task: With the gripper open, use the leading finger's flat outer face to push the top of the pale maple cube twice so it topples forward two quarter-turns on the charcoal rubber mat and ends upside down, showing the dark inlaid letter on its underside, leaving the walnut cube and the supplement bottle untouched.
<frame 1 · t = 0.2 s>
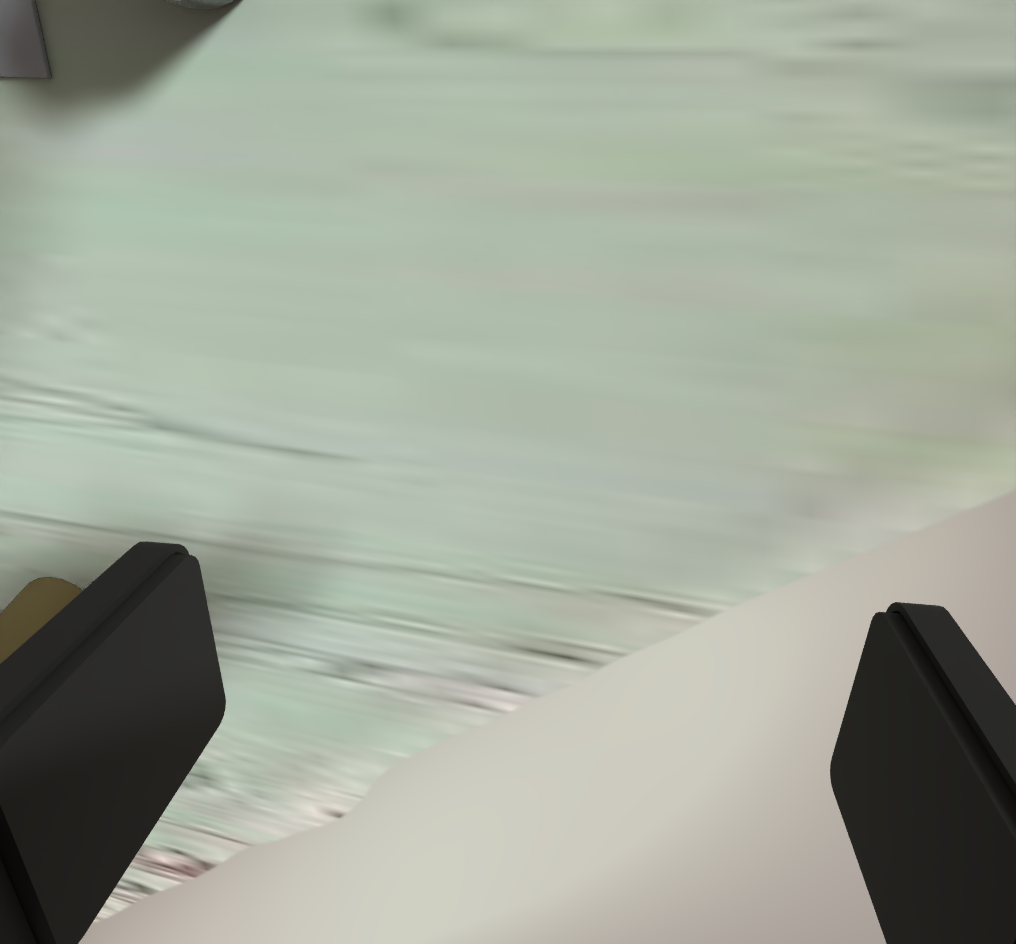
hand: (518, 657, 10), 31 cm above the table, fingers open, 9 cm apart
cork: (63, 610, 53), on the table
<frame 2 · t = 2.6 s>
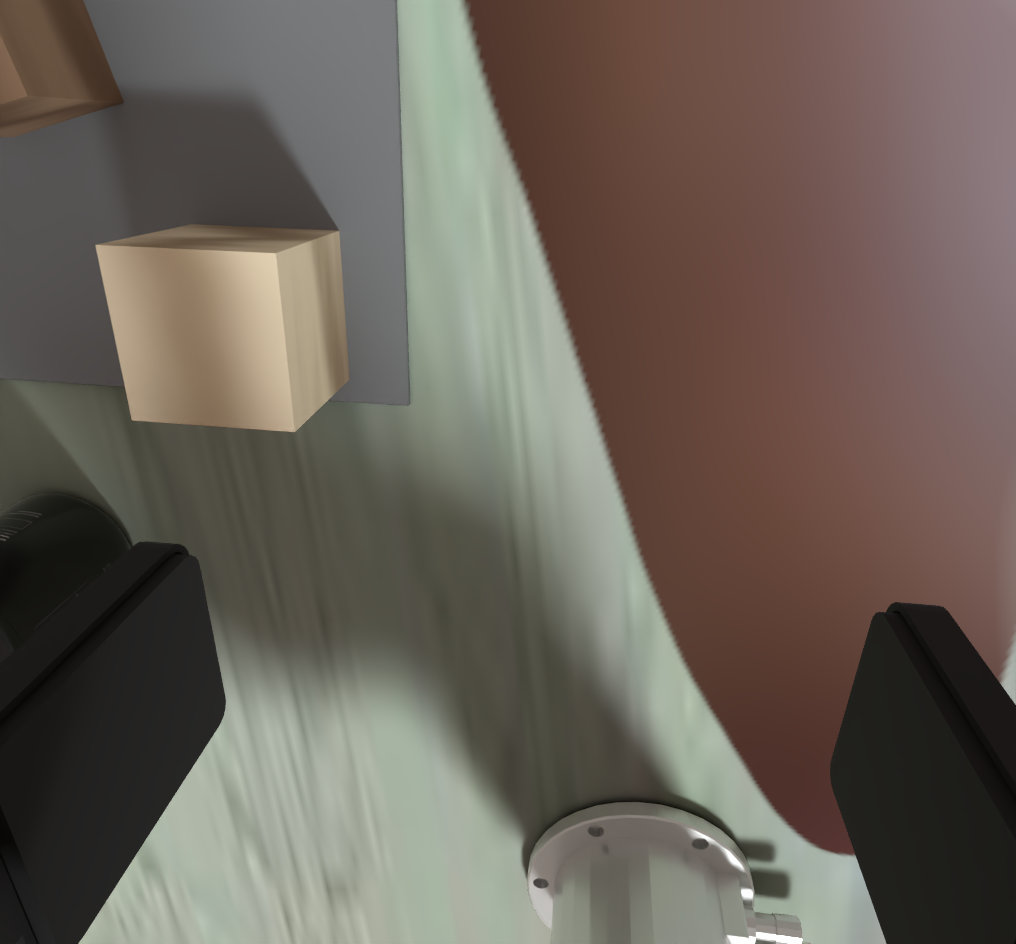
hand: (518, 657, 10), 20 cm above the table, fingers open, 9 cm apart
walnut block: (35, 46, 26), resting on mat
supplement bottle: (79, 547, 37), on the table
mat: (107, 193, 29), on the table
maple block: (273, 304, 29), resting on mat
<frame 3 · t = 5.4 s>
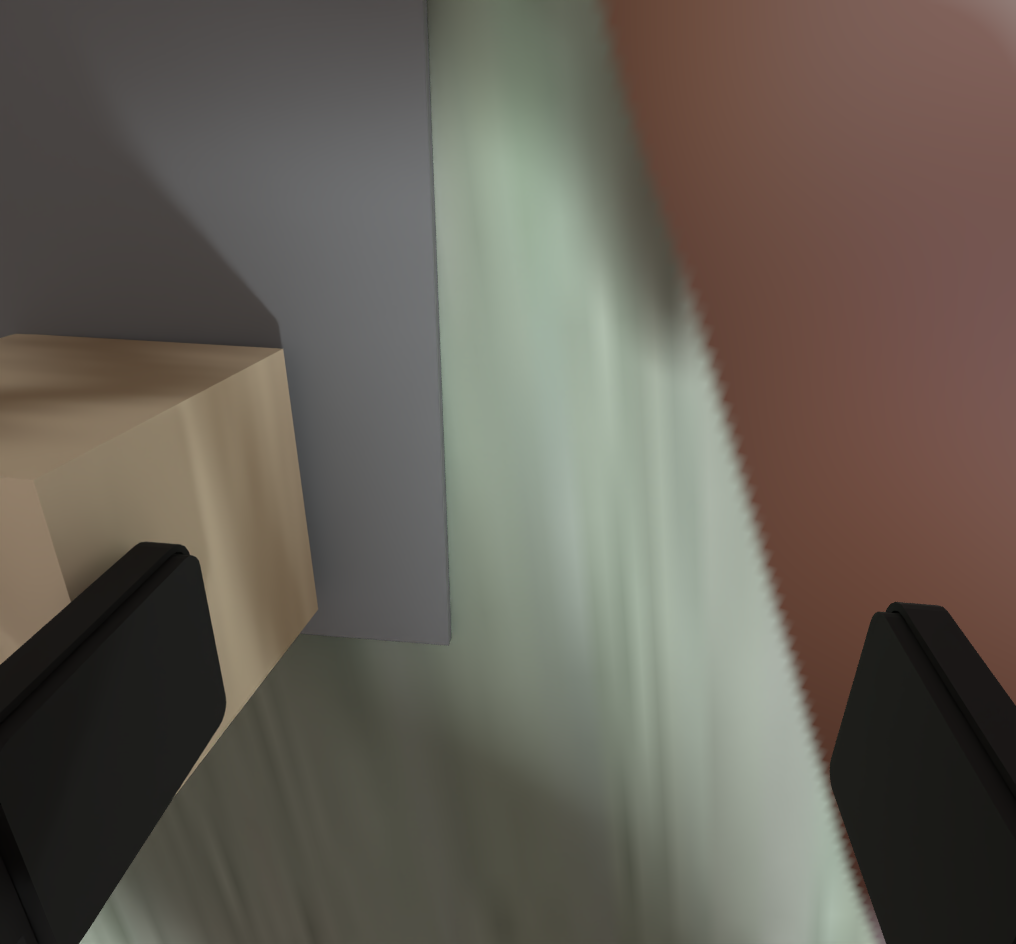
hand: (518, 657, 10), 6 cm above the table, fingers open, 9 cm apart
maple block: (174, 477, 16), point 1 cm above the table, tilted 5°, touching gripper, mat
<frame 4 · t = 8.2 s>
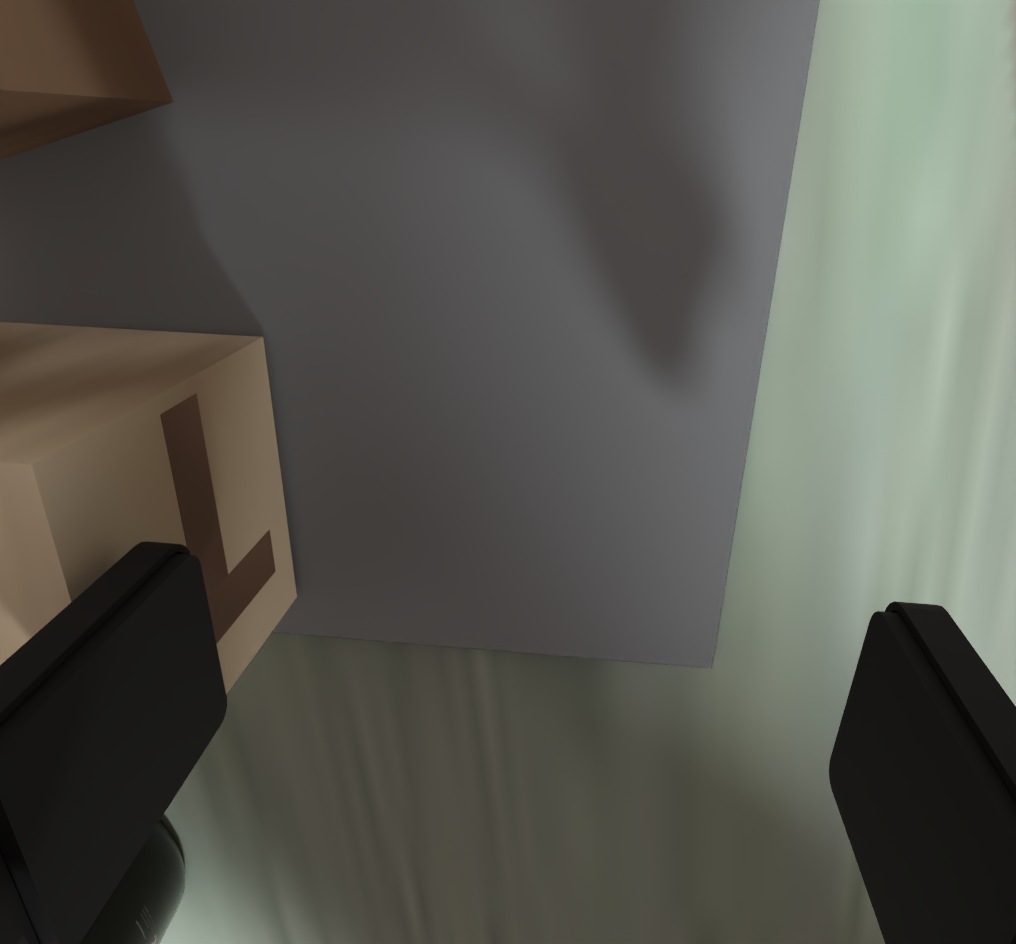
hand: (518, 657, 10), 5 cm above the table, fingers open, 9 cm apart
supplement bottle: (92, 839, 22), on the table
mat: (138, 286, 14), on the table
maple block: (206, 551, 12), point 3 cm above the table, tilted 92°, touching gripper, mat
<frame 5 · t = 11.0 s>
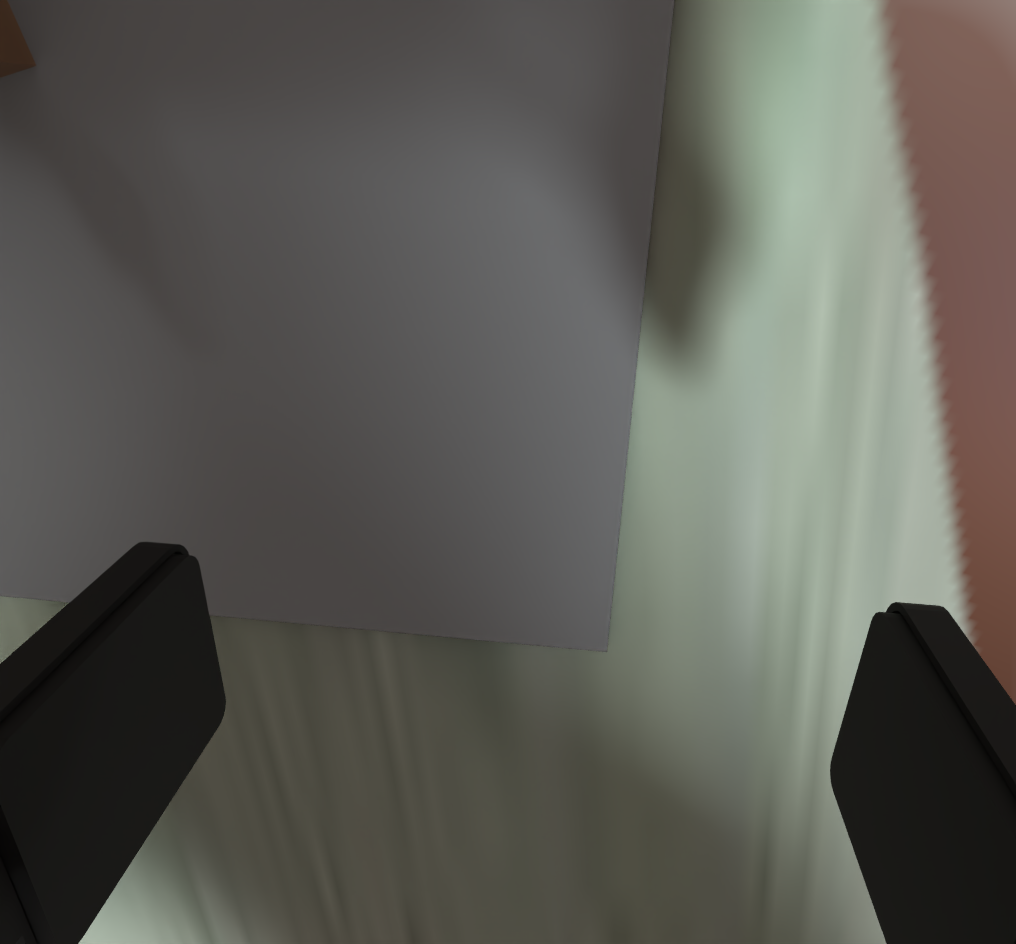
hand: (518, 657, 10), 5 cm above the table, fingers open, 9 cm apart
mat: (16, 257, 14), on the table
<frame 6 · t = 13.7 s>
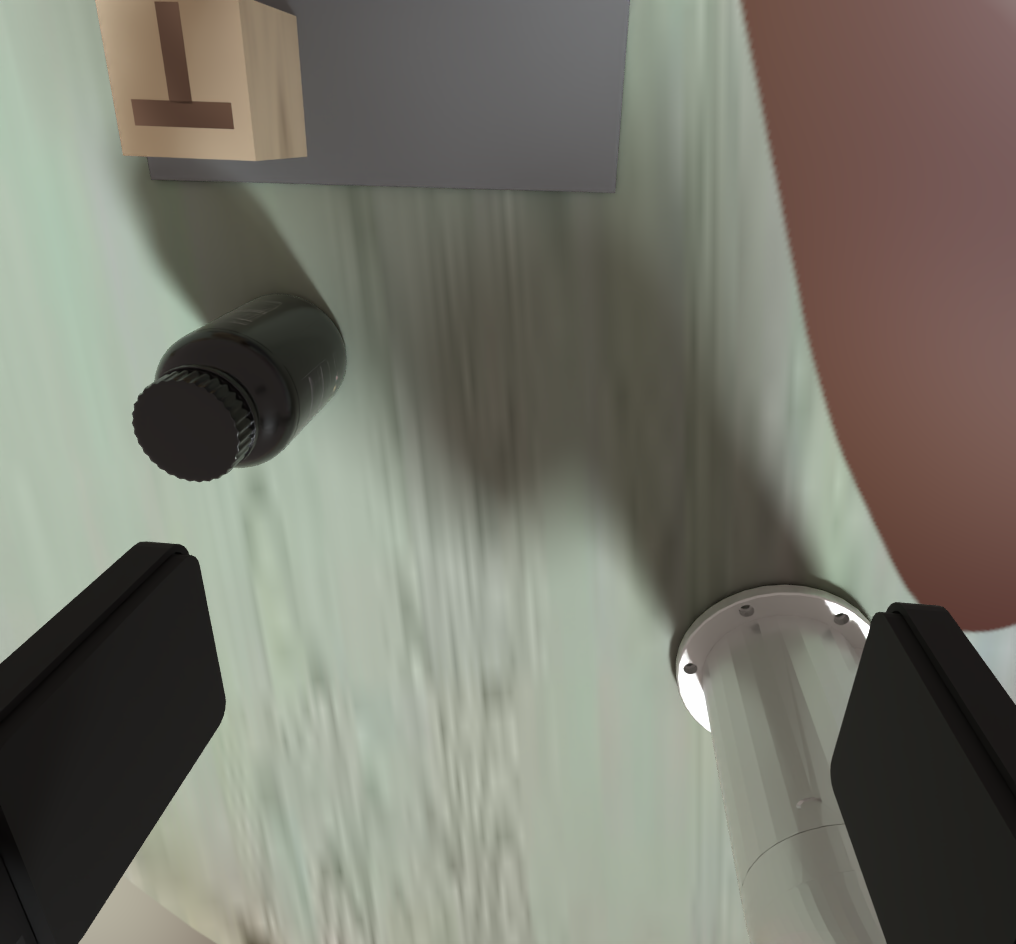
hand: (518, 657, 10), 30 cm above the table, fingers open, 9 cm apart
supplement bottle: (294, 351, 41), on the table
maple block: (177, 79, 30), point 6 cm above the table, tilted 180°, touching mat
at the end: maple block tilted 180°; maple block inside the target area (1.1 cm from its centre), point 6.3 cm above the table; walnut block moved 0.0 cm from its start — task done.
